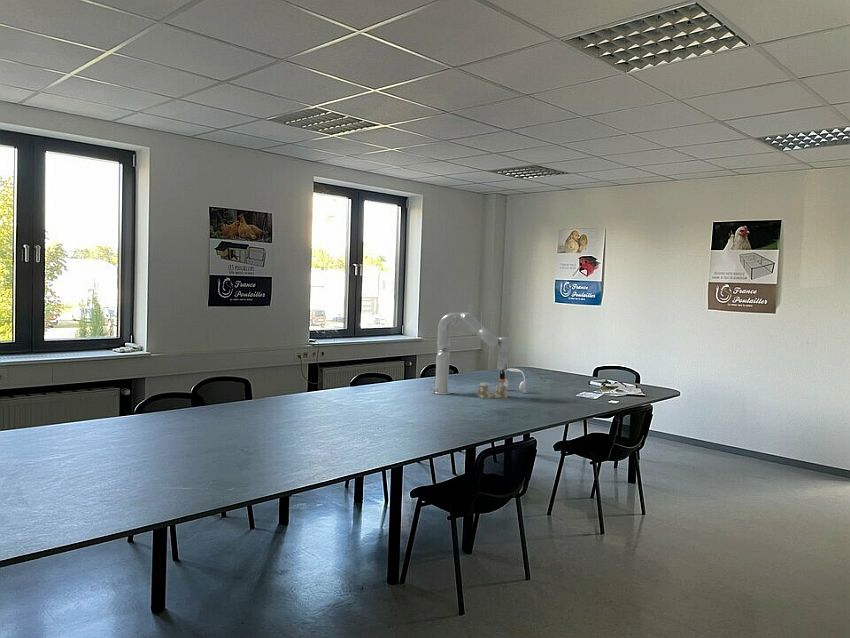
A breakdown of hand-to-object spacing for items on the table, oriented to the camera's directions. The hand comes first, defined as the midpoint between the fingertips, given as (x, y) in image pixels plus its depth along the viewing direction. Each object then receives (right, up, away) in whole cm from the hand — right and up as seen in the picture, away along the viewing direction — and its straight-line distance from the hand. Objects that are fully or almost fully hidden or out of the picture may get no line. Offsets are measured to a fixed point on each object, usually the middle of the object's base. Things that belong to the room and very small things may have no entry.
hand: (502, 378), depth 467 cm
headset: (+12, -12, +25) cm, 31 cm away
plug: (-14, -11, -3) cm, 18 cm away
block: (-7, -13, -1) cm, 15 cm away
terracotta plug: (0, -8, 0) cm, 8 cm away
